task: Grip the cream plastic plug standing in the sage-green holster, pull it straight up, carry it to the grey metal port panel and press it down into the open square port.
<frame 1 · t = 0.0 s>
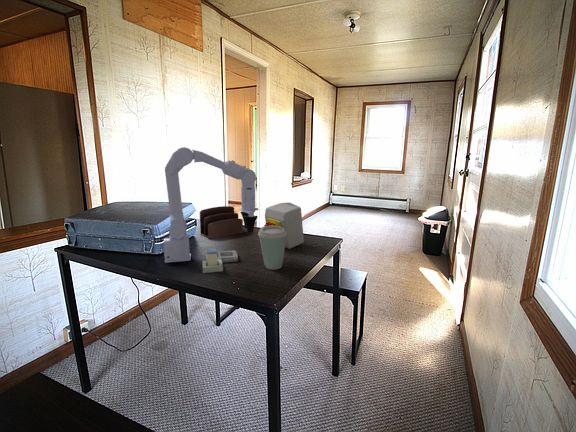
hand: (248, 230, 126), 10 cm above the table, tool pointing down, fingers open, 7 cm apart
disposable coffee cup: (272, 267, 113), on the table
letter holder: (222, 234, 156), on the table
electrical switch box: (281, 245, 139), on the table
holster: (212, 268, 110), on the table
port panel: (221, 259, 120), on the table
plug: (212, 259, 110), in the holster
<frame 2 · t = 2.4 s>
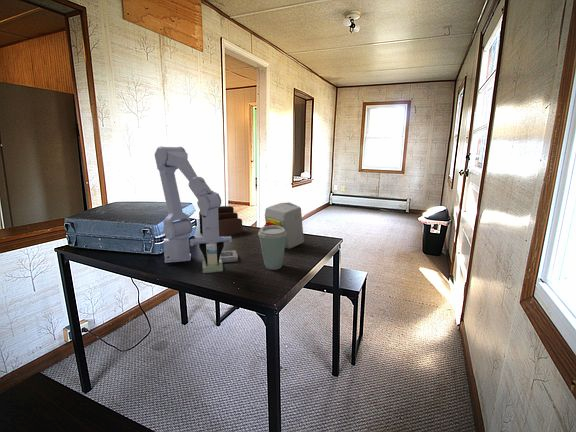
hand: (212, 262, 110), 2 cm above the table, tool pointing down, fingers closed on plug, 3 cm apart
plug: (212, 259, 110), in the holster, touching gripper
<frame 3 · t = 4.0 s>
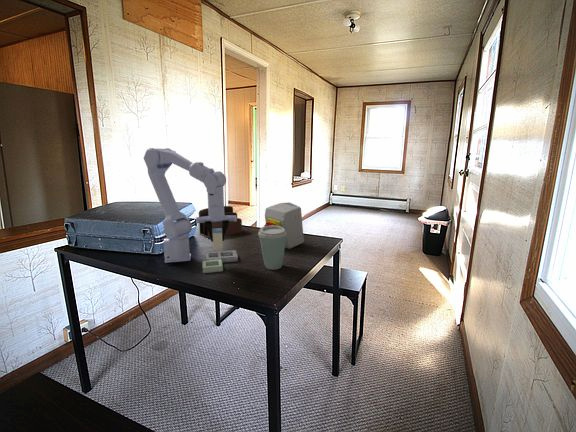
hand: (217, 240, 112), 10 cm above the table, tool pointing down, fingers closed on plug, 3 cm apart
plug: (217, 238, 112), point 10 cm above the table, touching gripper
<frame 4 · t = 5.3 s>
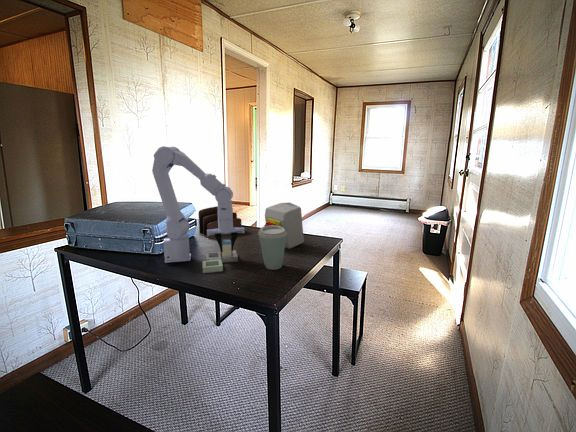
hand: (226, 251, 120), 3 cm above the table, tool pointing down, fingers closed on plug, 3 cm apart
plug: (226, 249, 119), in the port panel, touching gripper
when the fingers open (3 cm above the table, at t = 5.7 s): plug stays where it is, resting in port panel.
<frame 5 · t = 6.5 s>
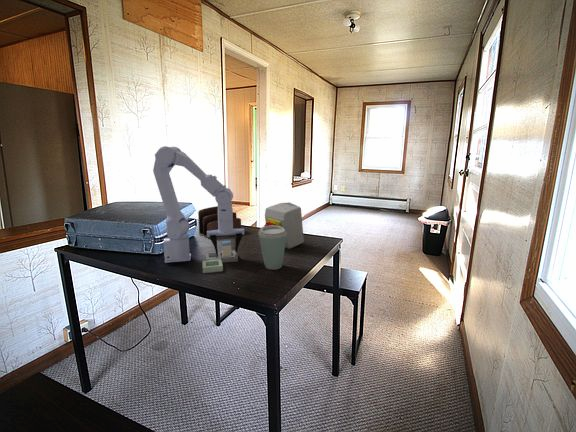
hand: (226, 252, 120), 3 cm above the table, tool pointing down, fingers open, 7 cm apart
plug: (226, 250, 119), in the port panel
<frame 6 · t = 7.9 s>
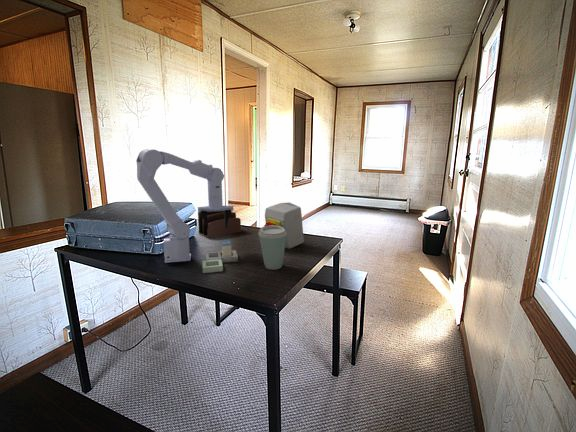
hand: (216, 227, 128), 10 cm above the table, tool pointing down, fingers open, 7 cm apart
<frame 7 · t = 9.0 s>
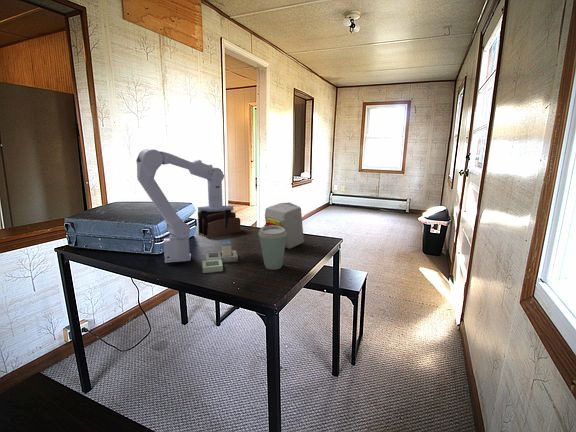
hand: (216, 227, 128), 10 cm above the table, tool pointing down, fingers open, 7 cm apart
at the end: plug 0.4 cm from the target spot on the port panel, point 3.5 cm above the port panel's base; plug tilted 0°; the gripper is holding nothing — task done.
